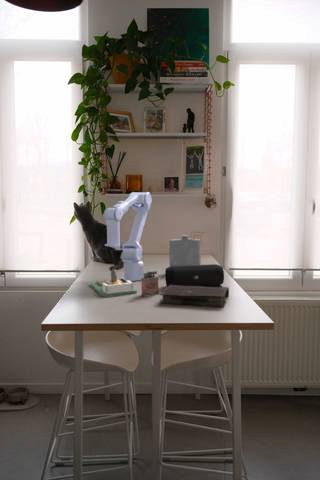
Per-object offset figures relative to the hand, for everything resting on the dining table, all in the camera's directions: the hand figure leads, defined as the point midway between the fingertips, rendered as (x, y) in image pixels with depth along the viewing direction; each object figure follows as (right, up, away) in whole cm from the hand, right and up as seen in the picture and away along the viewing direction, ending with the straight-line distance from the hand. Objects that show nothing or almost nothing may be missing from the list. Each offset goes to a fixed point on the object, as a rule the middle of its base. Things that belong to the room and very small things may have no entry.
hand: (113, 263), depth 214 cm
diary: (+35, -14, -26) cm, 46 cm away
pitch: (0, -11, -5) cm, 12 cm away
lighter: (+17, -13, -15) cm, 26 cm away
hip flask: (+34, -7, +27) cm, 44 cm away
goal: (+3, -12, -12) cm, 17 cm away
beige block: (+1, -10, -7) cm, 13 cm away
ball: (+3, -9, -12) cm, 16 cm away
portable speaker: (+37, -11, -2) cm, 38 cm away
